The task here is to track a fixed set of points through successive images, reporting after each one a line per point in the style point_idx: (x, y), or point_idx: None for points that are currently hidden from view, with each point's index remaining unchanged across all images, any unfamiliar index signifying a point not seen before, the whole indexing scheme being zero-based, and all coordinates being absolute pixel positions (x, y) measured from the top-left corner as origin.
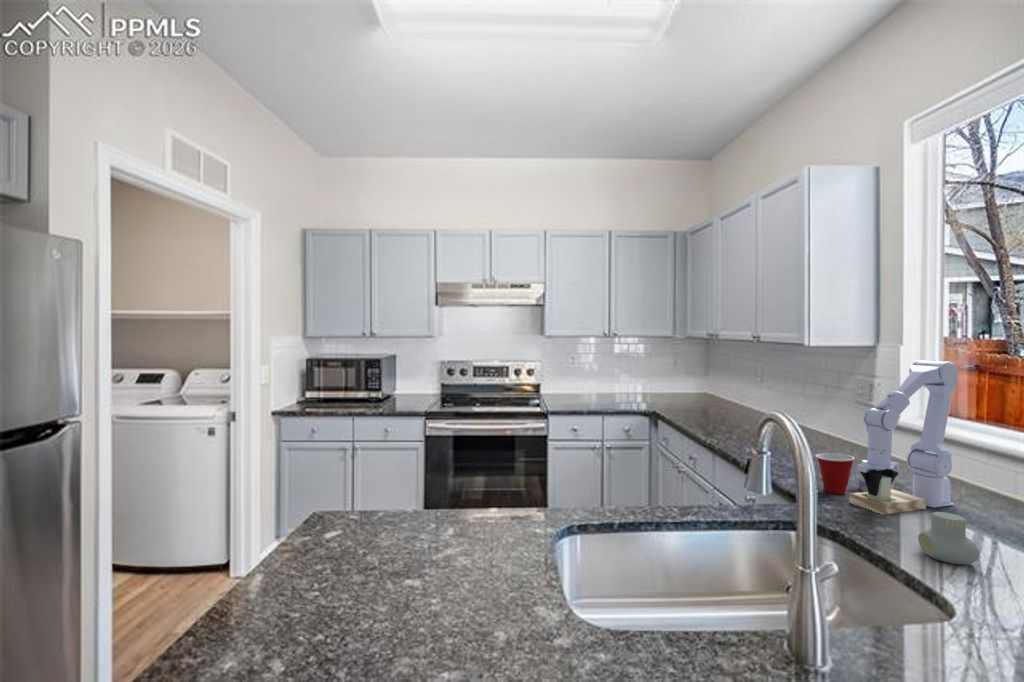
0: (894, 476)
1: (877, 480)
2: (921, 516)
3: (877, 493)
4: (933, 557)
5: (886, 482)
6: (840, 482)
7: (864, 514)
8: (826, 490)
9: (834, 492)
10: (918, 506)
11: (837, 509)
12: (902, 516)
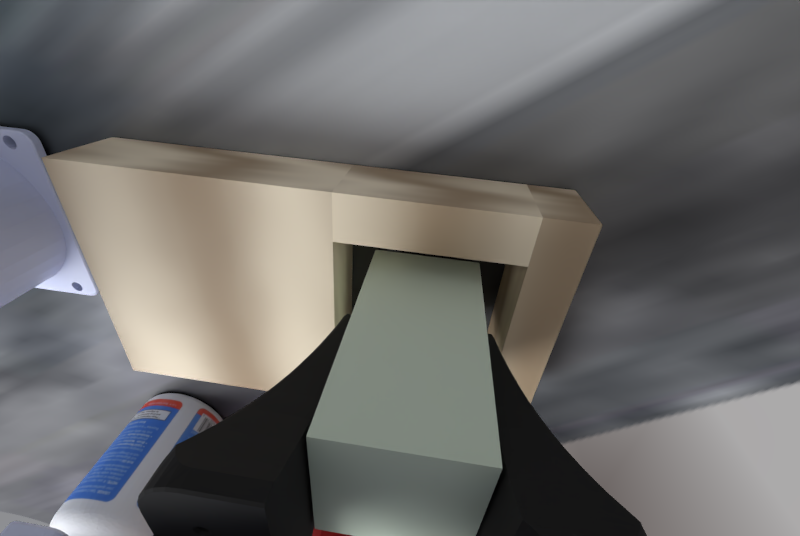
0: (243, 439)
1: (564, 461)
2: (306, 41)
3: None
4: None
5: (405, 400)
6: None
7: (696, 244)
8: None
9: None
10: (174, 153)
11: (728, 357)
12: (467, 105)
